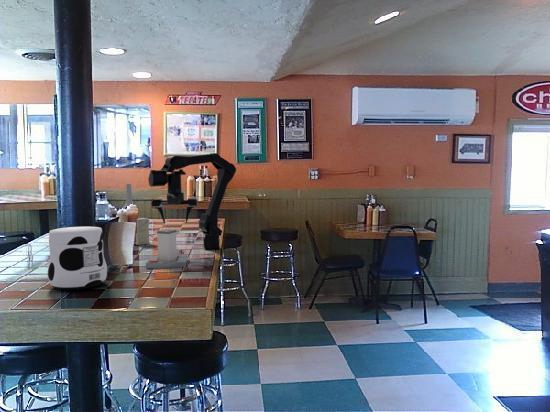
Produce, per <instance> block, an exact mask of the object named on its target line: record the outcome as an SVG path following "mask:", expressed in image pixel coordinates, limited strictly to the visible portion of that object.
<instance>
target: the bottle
mask: <svg viewBox="0 0 550 412" xmlns="http://www.w3.org/2000/svg"><path fill="white" fill-rule="evenodd" d="M125 184H126V186H125V188H126V201H125V202H126V203H125V204H124V205H123V208H122V210H123V209H124V208H126V207H127V206H129V205H130V204H133V205H135V204H134V202H133V195H132V194H133V193H132V183H125Z"/></svg>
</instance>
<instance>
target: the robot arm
mask: <svg viewBox="0 0 550 412" xmlns="http://www.w3.org/2000/svg"><path fill="white" fill-rule="evenodd" d="M200 164H201V165H202V164H211V165H212V166H213V167H214V168H215V169H216V170H217V172H216V176H217V177H216V178H217V179H216V180H217V182H216V185H215V187H214V189H213V193H212V196H211V200H210V202H209V205H208V208H207V210H206V212H205V213H201V214H200V216H199V220H197V222H198V227H199V229H200V230H201V231H202V234H203V235H204V238H203V248H204V250H205V251H207V250H208V251H209V250H212V251H213V250H220V249H221V245H220V237H221V236H222V234H223V230H222V229H221V227H219V226H218V223H219V219H218V218H219V217H218V215H219V214H218V213H219V211H220V207H221V205H222V202H223V199H224V196H225V193H226V190H227V187H228V184H229V183H230V182H231V180H233V178H234V177H235V174H236V172H237V168H236V166H235V164H233V163H232V162H229V161H228V160H227V159H225V158H223V157H222V156H221V155H220V154H218V153H217V152H210V153H206V154H198V155H192V156H185V155H184V156H183V155H169V156H167V157H166V159H165V162H164V164H163V166H162V167H161V169H160V170H159V169H158V170H156V169H150V171H149V175H148V179H147V180H148V185H149V186H150V187H151V188H153V187H165V186H167V194H166V200H163V198H153V199H152V200H151V203H150V204H151V207H154V209H157V210H158V212H159V214H160V216H161V219H162V222H163V224H166V216H165V207H164V205H165V206H166V205H167V206H169V205H170V206H171V205H172V206H173V205H175V206H177V205H187V206H186V215H185V223H186V224H187V223H188V220H189V217H190V213H191V211H192V209H194V208H195V206H198V205H199V202H198V198H196V197H193V198H191V197H190V198H187V199H185V194H184V192H182V176H186V175H187V172H186V171H184V170H183V168H186V167H188V166H189V167H190V166H192V165H200Z"/></svg>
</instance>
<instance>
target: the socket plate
mask: <svg viewBox="0 0 550 412" xmlns="http://www.w3.org/2000/svg"><path fill="white" fill-rule="evenodd" d="M188 256H189V255H188V254H177V261H158V255H151V256H150V257H149V258H148V260H147V261H146V262H145V269H146V270H147V269H176V268H180V269H181V268H185V267H186V265H187V263H188V261H189V257H188Z"/></svg>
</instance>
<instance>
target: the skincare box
mask: <svg viewBox="0 0 550 412" xmlns="http://www.w3.org/2000/svg"><path fill="white" fill-rule="evenodd" d="M137 218H138V219H137V233H136V243H135V244H136V246H140V245H141V246H142V245H147V244H149V245H150V227H149V225H150V224H149V223H150V222H149V218H146V217H137ZM135 244H134V245H135Z"/></svg>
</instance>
